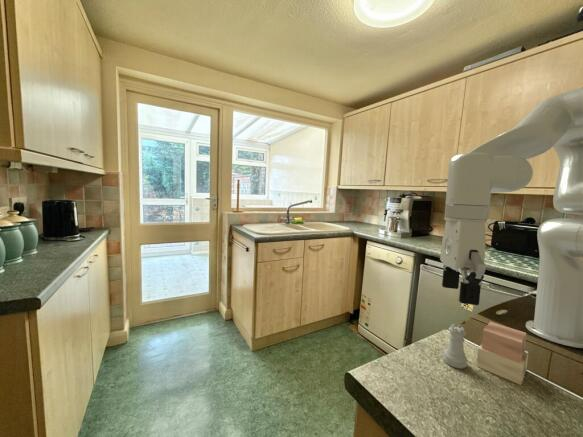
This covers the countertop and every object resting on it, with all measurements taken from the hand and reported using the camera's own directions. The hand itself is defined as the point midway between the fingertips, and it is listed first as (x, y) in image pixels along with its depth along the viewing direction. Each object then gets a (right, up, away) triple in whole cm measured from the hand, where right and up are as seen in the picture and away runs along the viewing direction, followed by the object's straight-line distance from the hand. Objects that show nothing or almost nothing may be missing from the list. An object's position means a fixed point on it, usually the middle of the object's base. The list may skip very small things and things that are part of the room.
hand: (458, 295), depth 52 cm
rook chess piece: (0, -15, +1) cm, 15 cm away
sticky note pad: (+9, -15, 0) cm, 18 cm away
